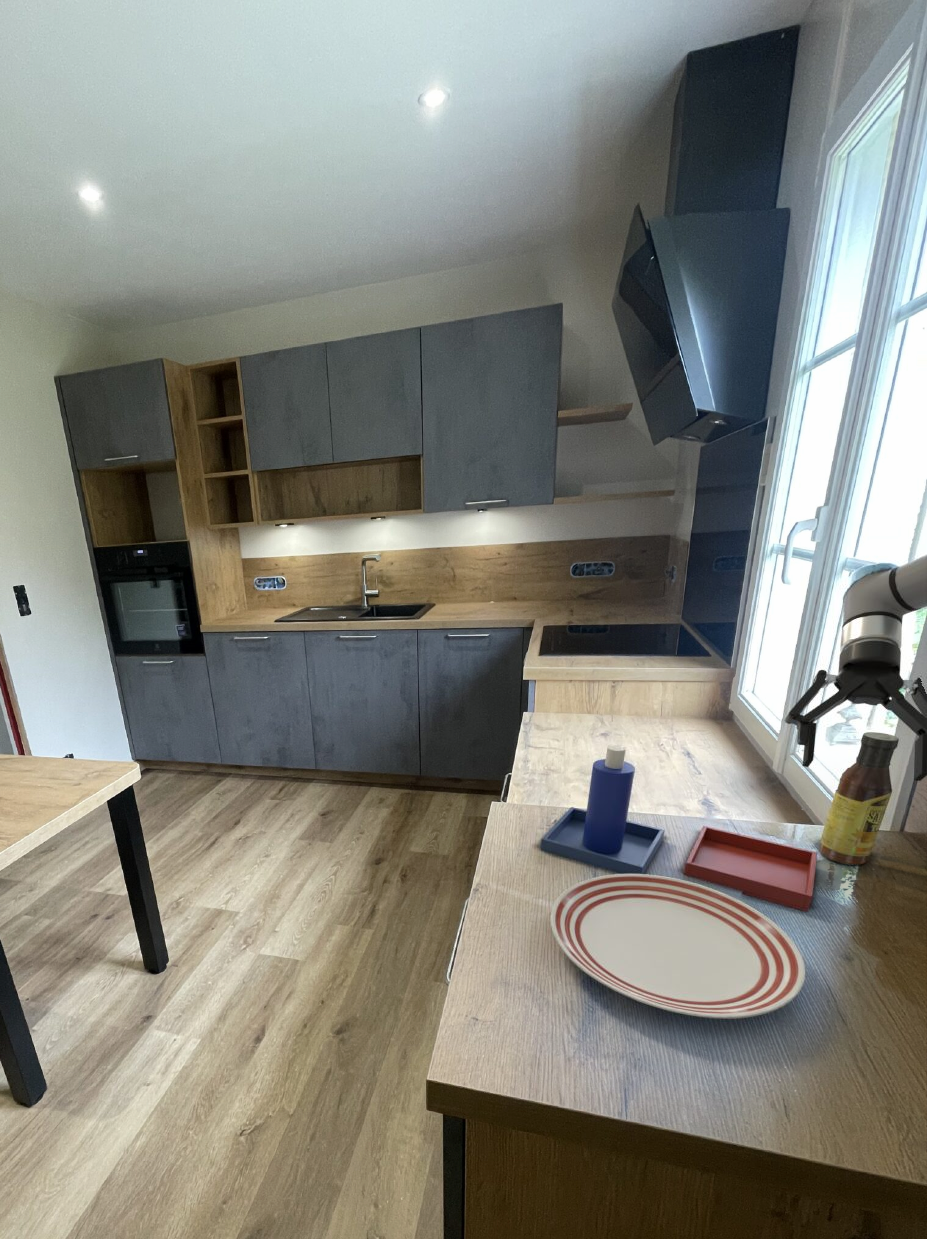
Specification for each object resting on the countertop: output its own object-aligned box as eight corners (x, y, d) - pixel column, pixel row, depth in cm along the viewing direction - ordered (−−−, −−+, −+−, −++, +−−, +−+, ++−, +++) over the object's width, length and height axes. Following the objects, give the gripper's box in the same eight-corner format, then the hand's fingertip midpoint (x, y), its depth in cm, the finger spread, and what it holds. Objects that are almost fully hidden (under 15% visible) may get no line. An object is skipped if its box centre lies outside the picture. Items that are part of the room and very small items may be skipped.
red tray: (812, 866, 93) (817, 852, 92) (807, 912, 83) (812, 896, 82) (700, 838, 102) (703, 825, 101) (682, 877, 91) (685, 862, 90)
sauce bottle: (861, 872, 91) (903, 747, 84) (811, 856, 96) (847, 736, 88) (872, 856, 95) (914, 736, 87) (824, 842, 99) (860, 726, 92)
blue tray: (662, 843, 101) (664, 829, 100) (639, 882, 91) (642, 867, 90) (569, 819, 110) (571, 806, 109) (539, 852, 99) (541, 838, 98)
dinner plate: (557, 1016, 67) (560, 992, 66) (542, 881, 92) (544, 862, 90) (847, 1059, 61) (857, 1034, 59) (748, 901, 85) (753, 881, 84)
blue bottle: (626, 842, 100) (642, 745, 94) (615, 858, 96) (632, 757, 89) (589, 832, 104) (602, 738, 97) (577, 847, 99) (590, 749, 93)
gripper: (960, 670, 96) (959, 793, 90) (771, 658, 108) (759, 767, 101) (986, 643, 90) (987, 773, 84) (782, 633, 101) (770, 747, 95)
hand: (862, 770), depth 92 cm, fingers open, 13 cm apart
